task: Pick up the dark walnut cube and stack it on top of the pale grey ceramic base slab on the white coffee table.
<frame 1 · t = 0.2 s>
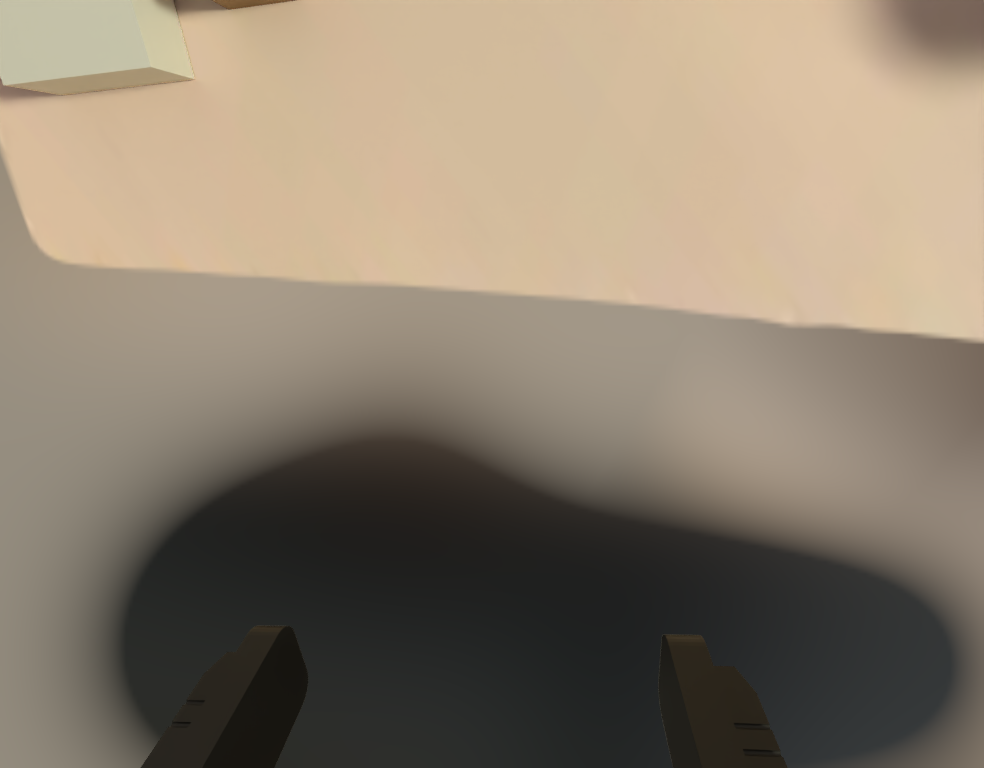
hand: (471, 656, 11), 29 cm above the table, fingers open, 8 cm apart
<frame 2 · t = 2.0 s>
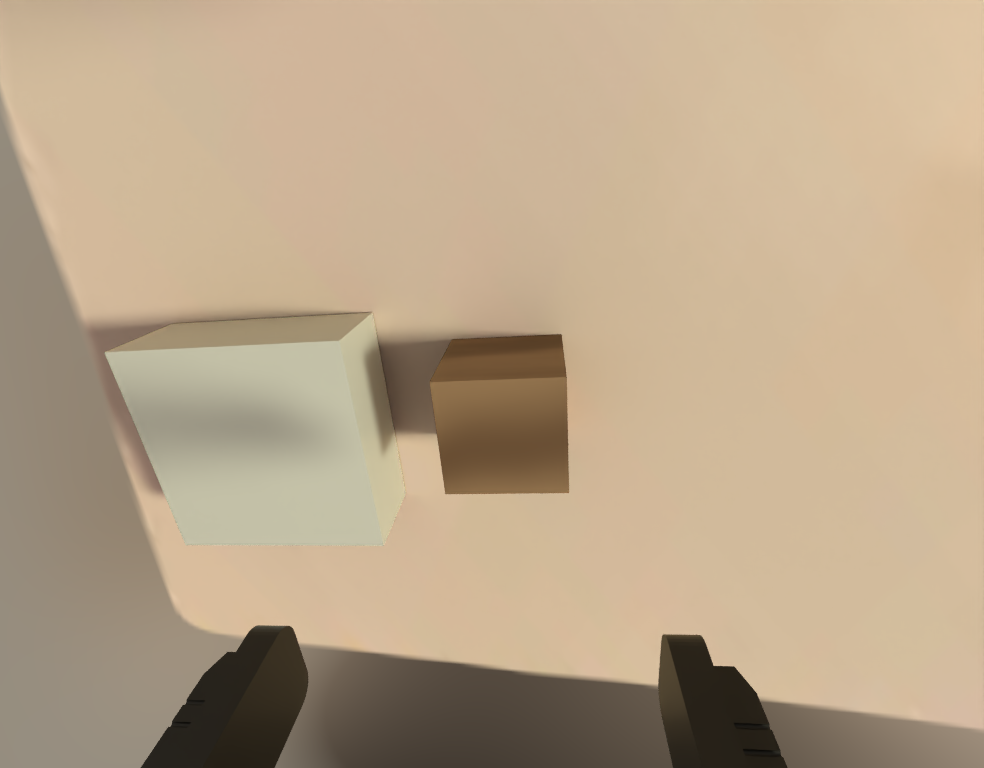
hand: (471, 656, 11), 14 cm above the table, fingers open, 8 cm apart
base slab: (295, 413, 25), on the table
walnut cube: (509, 386, 23), on the table
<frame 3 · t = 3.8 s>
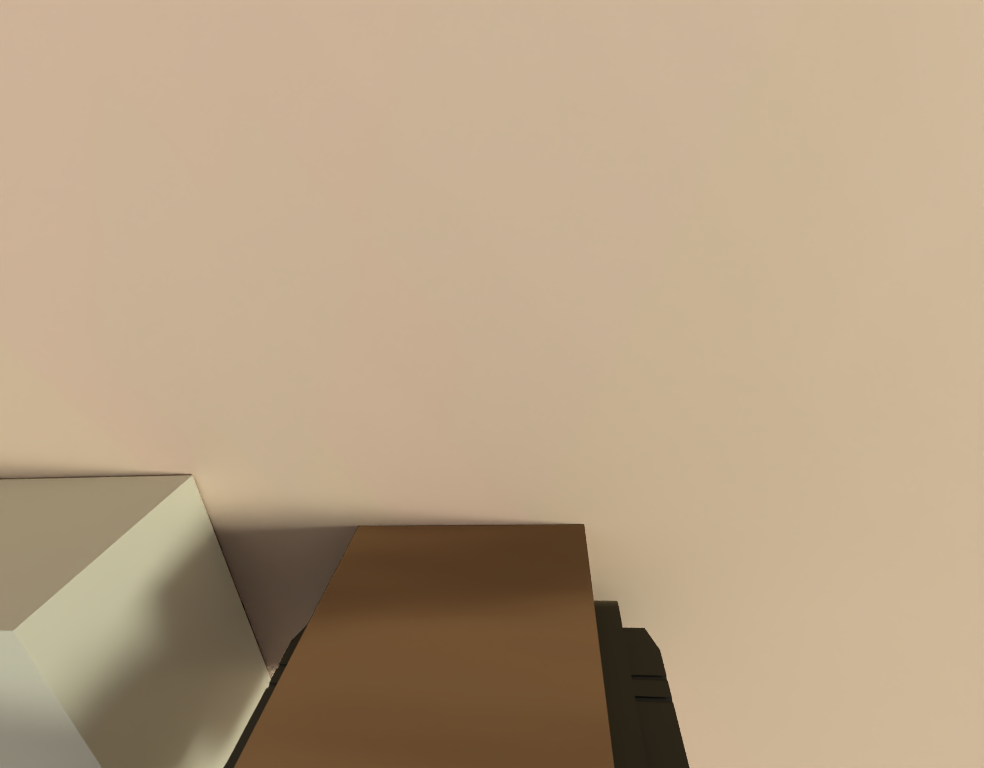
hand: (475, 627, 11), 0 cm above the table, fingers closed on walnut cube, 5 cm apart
base slab: (83, 633, 13), on the table
walnut cube: (478, 609, 12), on the table, touching gripper
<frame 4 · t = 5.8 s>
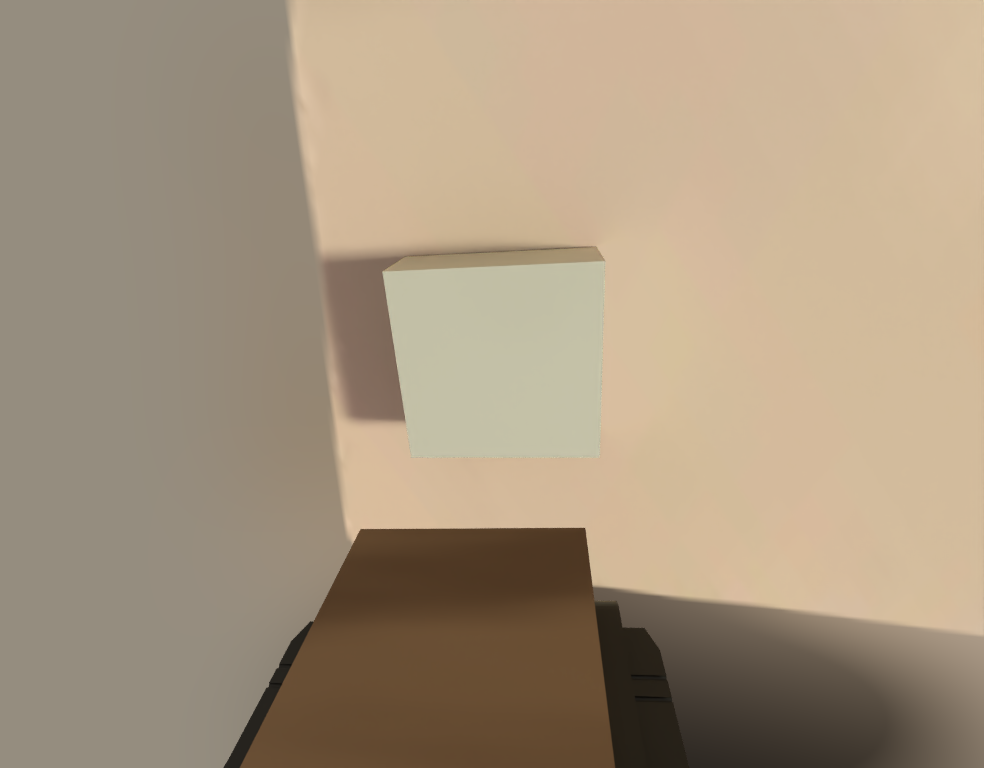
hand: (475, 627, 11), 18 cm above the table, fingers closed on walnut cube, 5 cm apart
base slab: (504, 342, 27), on the table
walnut cube: (480, 612, 12), point 17 cm above the table, touching gripper
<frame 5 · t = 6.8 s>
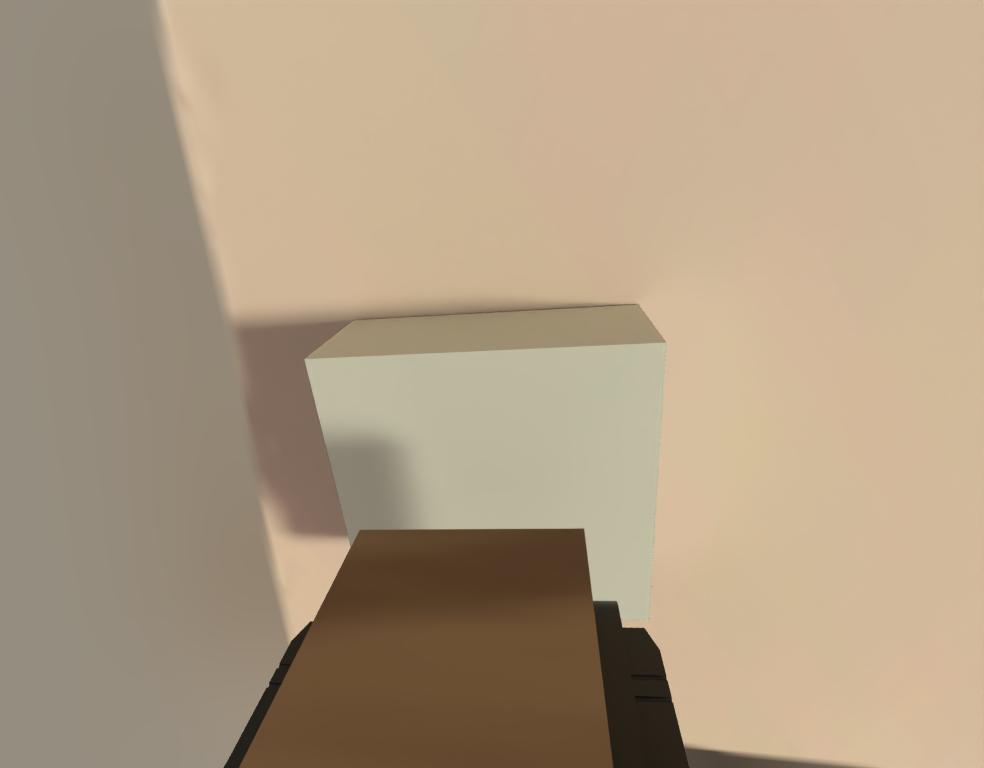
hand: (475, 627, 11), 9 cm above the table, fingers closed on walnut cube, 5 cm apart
base slab: (501, 437, 19), on the table
walnut cube: (479, 612, 12), point 8 cm above the table, touching gripper
when the fingers open (5 cm above the table, at t = 7.9 s): walnut cube stays where it is, resting on base slab.
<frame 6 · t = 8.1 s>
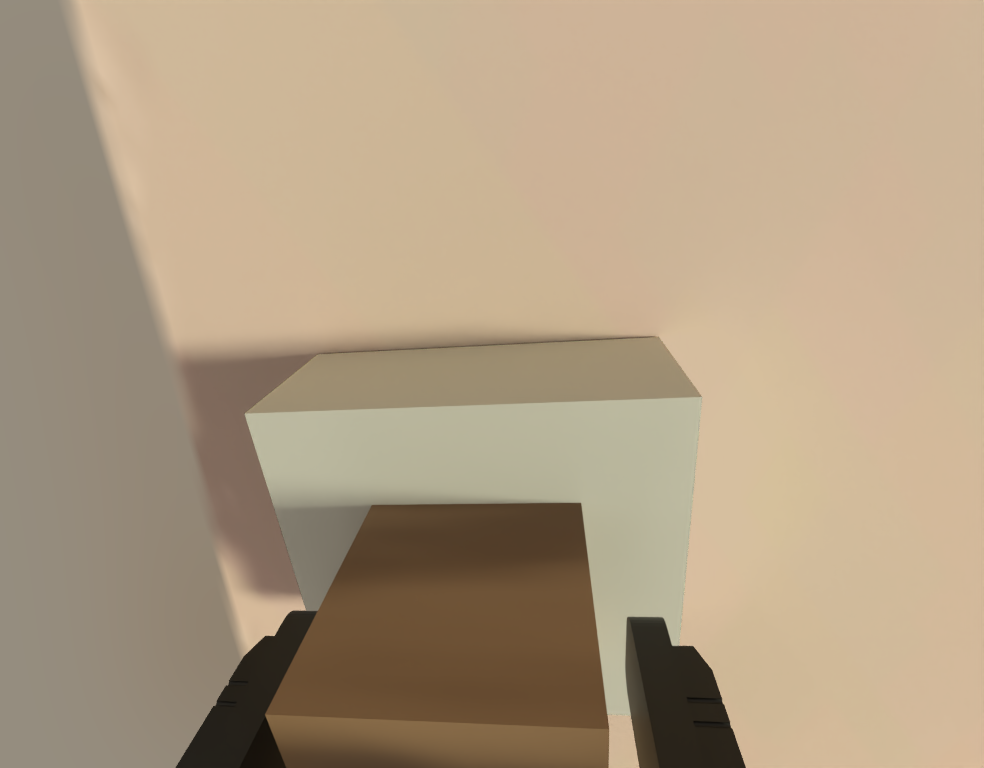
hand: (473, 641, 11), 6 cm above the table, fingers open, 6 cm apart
base slab: (495, 489, 16), on the table
walnut cube: (483, 584, 12), point 4 cm above the table, touching base slab
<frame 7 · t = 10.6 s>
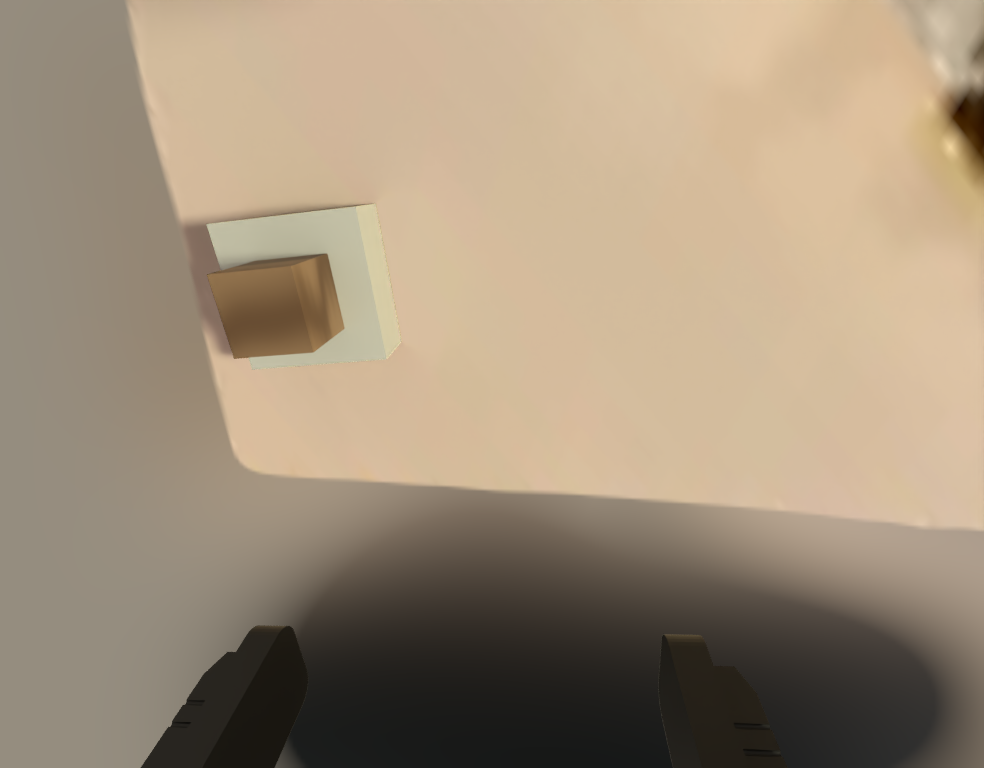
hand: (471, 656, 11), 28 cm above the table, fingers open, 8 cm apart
base slab: (324, 282, 36), on the table
walnut cube: (300, 295, 32), point 4 cm above the table, touching base slab
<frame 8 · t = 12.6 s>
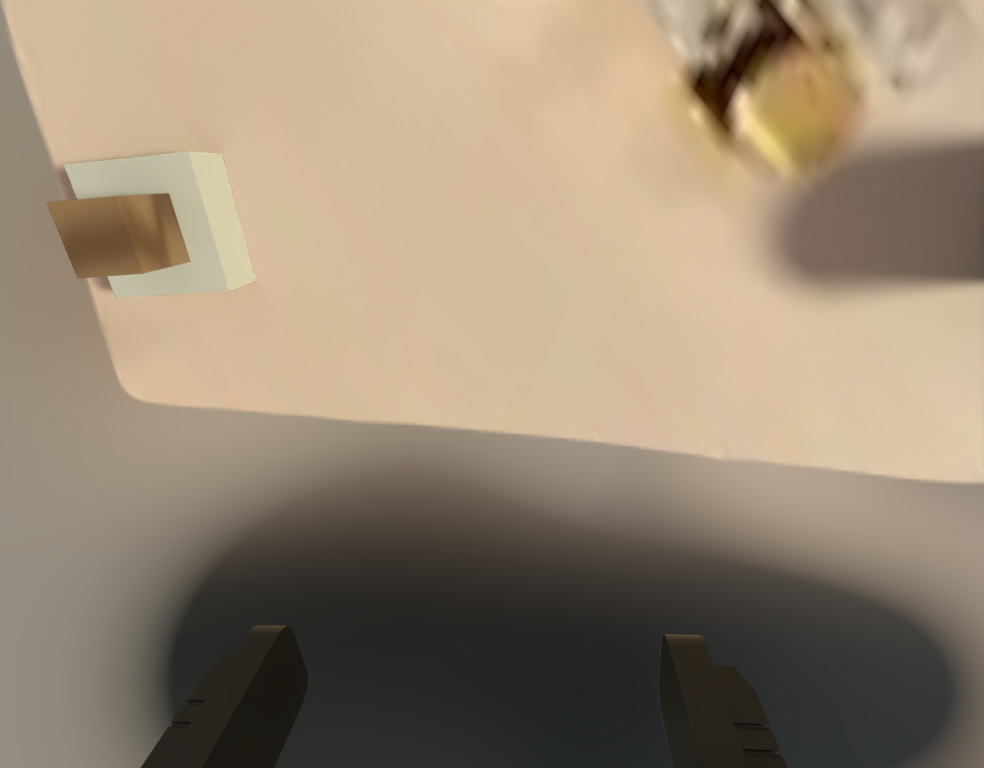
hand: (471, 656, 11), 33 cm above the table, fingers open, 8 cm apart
base slab: (184, 224, 41), on the table
walnut cube: (150, 230, 37), point 4 cm above the table, touching base slab
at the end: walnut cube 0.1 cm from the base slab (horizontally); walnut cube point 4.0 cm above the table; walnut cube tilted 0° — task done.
